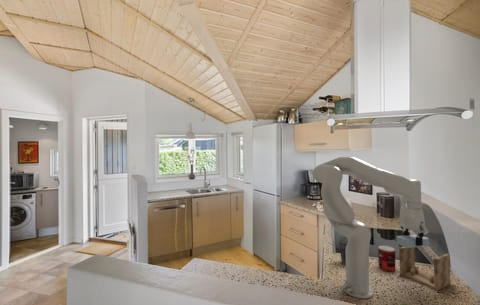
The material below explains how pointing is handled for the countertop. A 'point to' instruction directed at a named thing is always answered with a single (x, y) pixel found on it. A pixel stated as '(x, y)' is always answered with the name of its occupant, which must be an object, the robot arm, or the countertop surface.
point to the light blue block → (410, 241)
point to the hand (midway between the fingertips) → (412, 242)
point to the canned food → (386, 258)
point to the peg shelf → (412, 272)
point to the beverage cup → (343, 248)
